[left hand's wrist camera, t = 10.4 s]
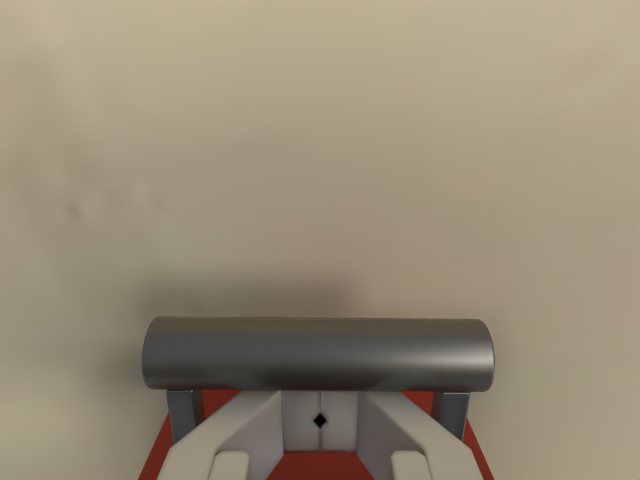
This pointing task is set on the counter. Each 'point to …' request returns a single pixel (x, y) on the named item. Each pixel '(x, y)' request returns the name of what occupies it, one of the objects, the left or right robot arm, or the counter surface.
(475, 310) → the counter surface
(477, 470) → the left robot arm
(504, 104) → the counter surface
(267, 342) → the drawer
